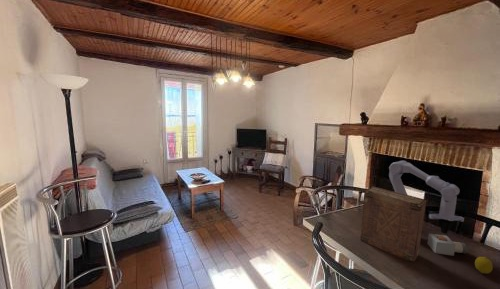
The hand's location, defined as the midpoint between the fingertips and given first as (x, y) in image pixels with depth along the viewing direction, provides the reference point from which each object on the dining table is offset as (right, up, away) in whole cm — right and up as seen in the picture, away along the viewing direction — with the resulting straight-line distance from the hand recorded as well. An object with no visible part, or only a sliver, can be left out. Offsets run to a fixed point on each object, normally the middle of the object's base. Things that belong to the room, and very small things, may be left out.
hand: (443, 232), depth 115 cm
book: (-27, -10, +4) cm, 29 cm away
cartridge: (+3, -10, +1) cm, 10 cm away
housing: (0, -10, +2) cm, 10 cm away
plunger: (0, -4, +1) cm, 4 cm away
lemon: (+4, -13, -15) cm, 20 cm away
